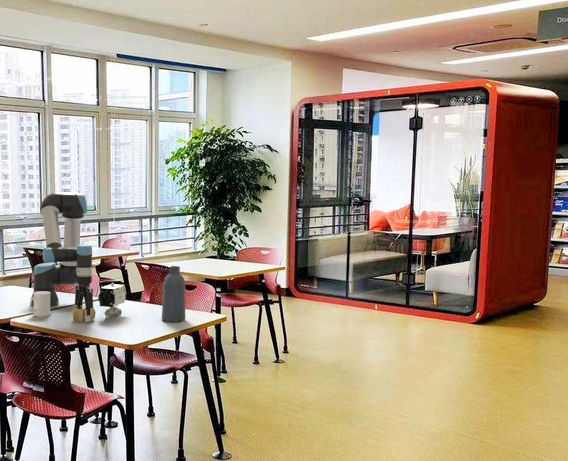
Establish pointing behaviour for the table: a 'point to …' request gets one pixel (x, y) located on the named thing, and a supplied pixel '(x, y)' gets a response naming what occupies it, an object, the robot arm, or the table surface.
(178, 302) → the gray bottle
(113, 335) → the table surface
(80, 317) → the tan block
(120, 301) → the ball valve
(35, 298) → the mug
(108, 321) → the table surface
